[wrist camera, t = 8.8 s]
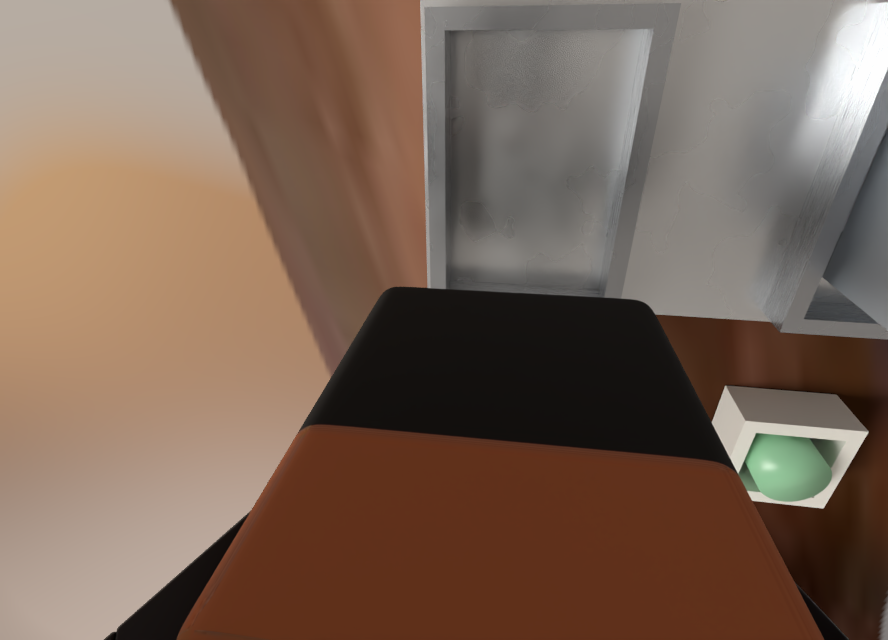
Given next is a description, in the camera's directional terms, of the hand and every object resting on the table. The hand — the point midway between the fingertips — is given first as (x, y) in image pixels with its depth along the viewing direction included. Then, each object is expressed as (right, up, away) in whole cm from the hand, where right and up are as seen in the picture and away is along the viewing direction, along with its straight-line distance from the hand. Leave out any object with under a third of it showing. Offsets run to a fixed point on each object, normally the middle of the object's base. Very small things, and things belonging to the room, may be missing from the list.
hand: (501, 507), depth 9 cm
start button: (+14, -2, +14) cm, 20 cm away
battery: (+1, +2, +5) cm, 5 cm away
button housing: (+14, -2, +15) cm, 20 cm away
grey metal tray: (+9, +9, +9) cm, 15 cm away
